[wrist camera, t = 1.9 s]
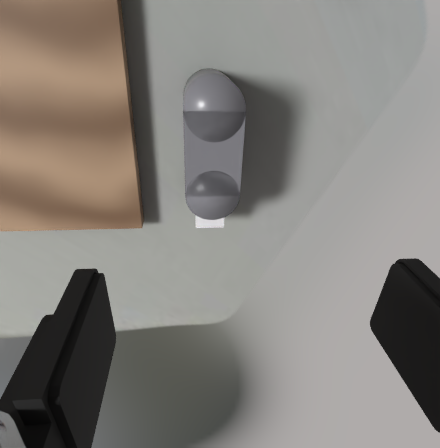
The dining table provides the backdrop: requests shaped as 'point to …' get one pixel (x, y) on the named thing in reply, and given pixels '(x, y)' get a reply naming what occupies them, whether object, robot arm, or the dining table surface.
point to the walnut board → (66, 118)
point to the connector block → (212, 146)
